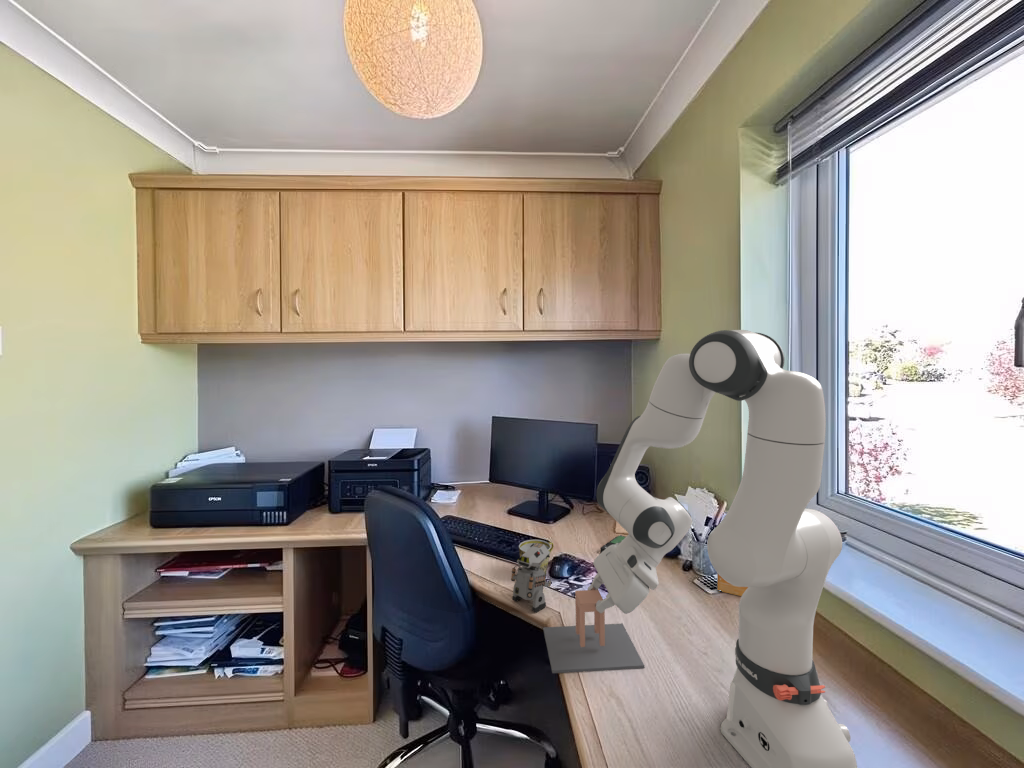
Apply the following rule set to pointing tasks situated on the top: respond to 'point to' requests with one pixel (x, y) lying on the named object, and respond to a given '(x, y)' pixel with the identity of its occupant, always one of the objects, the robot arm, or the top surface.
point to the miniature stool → (586, 603)
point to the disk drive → (613, 542)
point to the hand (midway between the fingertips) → (593, 601)
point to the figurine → (531, 576)
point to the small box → (729, 587)
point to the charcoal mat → (590, 649)
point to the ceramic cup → (526, 546)
